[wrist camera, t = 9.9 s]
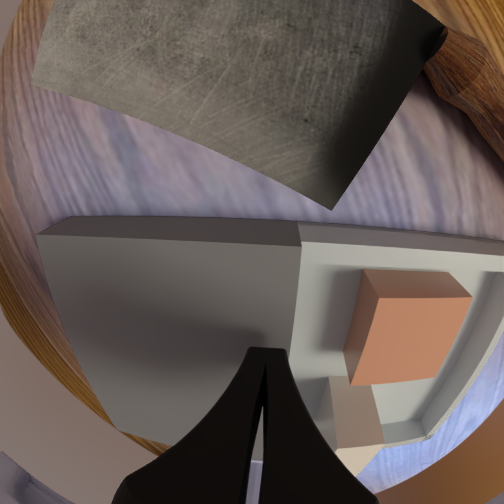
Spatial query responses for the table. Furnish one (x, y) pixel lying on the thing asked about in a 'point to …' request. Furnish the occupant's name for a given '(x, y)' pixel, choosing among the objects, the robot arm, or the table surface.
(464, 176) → the table surface
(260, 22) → the meat cleaver
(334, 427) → the tile white
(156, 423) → the board
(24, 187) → the table surface
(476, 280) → the tray
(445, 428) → the table surface
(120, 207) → the table surface
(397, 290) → the tile terracotta
